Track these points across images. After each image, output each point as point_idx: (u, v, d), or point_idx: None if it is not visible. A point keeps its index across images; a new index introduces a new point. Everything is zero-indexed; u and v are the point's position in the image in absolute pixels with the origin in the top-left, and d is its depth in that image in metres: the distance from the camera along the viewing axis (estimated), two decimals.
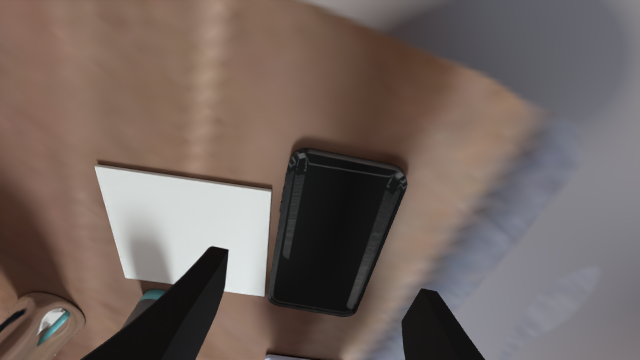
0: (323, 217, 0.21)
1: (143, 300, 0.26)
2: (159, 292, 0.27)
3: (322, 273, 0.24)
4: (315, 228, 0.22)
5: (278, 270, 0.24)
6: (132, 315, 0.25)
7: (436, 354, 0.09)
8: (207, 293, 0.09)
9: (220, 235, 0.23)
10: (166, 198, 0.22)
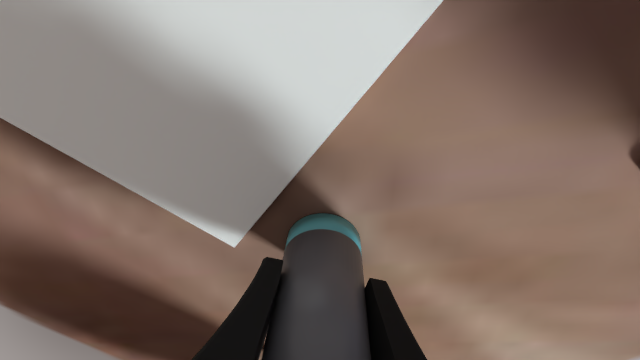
0: None
1: (283, 256, 0.12)
2: (296, 225, 0.13)
3: None
4: None
5: None
6: None
7: (375, 342, 0.09)
8: (271, 305, 0.09)
9: None
10: (38, 4, 0.09)
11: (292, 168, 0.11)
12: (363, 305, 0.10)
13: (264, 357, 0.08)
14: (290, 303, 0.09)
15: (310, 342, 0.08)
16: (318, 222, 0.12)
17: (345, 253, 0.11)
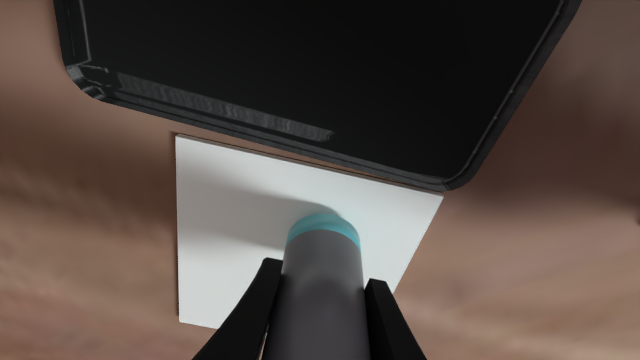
0: (211, 41, 0.10)
1: None
2: (296, 226, 0.13)
3: (385, 59, 0.10)
4: (244, 63, 0.10)
5: (365, 157, 0.12)
6: None
7: (375, 343, 0.09)
8: (271, 305, 0.09)
9: (278, 230, 0.14)
10: (214, 274, 0.16)
11: None
12: (363, 305, 0.10)
13: (264, 357, 0.08)
14: (290, 304, 0.09)
15: (310, 342, 0.08)
16: (318, 222, 0.12)
17: (345, 253, 0.11)
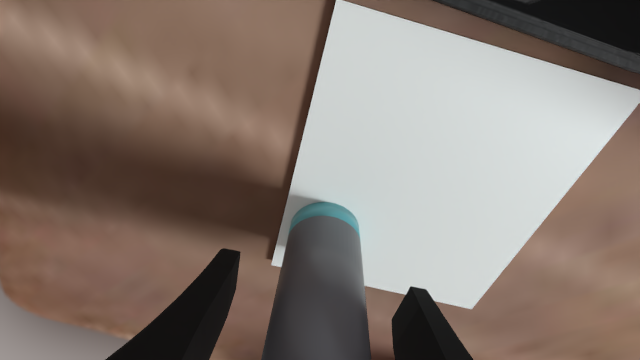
0: None
1: None
2: (298, 213, 0.13)
3: None
4: None
5: (578, 28, 0.09)
6: None
7: (424, 352, 0.09)
8: (220, 296, 0.09)
9: (426, 140, 0.12)
10: (330, 201, 0.13)
11: (519, 242, 0.14)
12: (361, 284, 0.11)
13: (270, 327, 0.09)
14: (294, 280, 0.10)
15: (312, 312, 0.09)
16: (319, 209, 0.13)
17: (345, 237, 0.12)
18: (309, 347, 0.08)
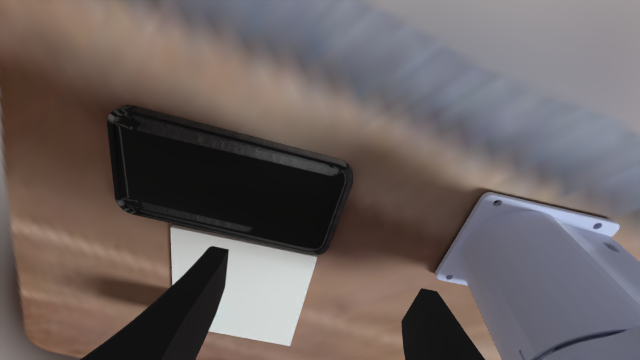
0: (187, 191, 0.20)
1: None
2: None
3: (271, 198, 0.20)
4: (204, 199, 0.20)
5: (271, 239, 0.22)
6: None
7: (436, 354, 0.09)
8: (207, 293, 0.09)
9: (229, 273, 0.24)
10: None
11: (296, 314, 0.27)
12: None
13: None
14: None
15: None
16: None
17: None
18: None
